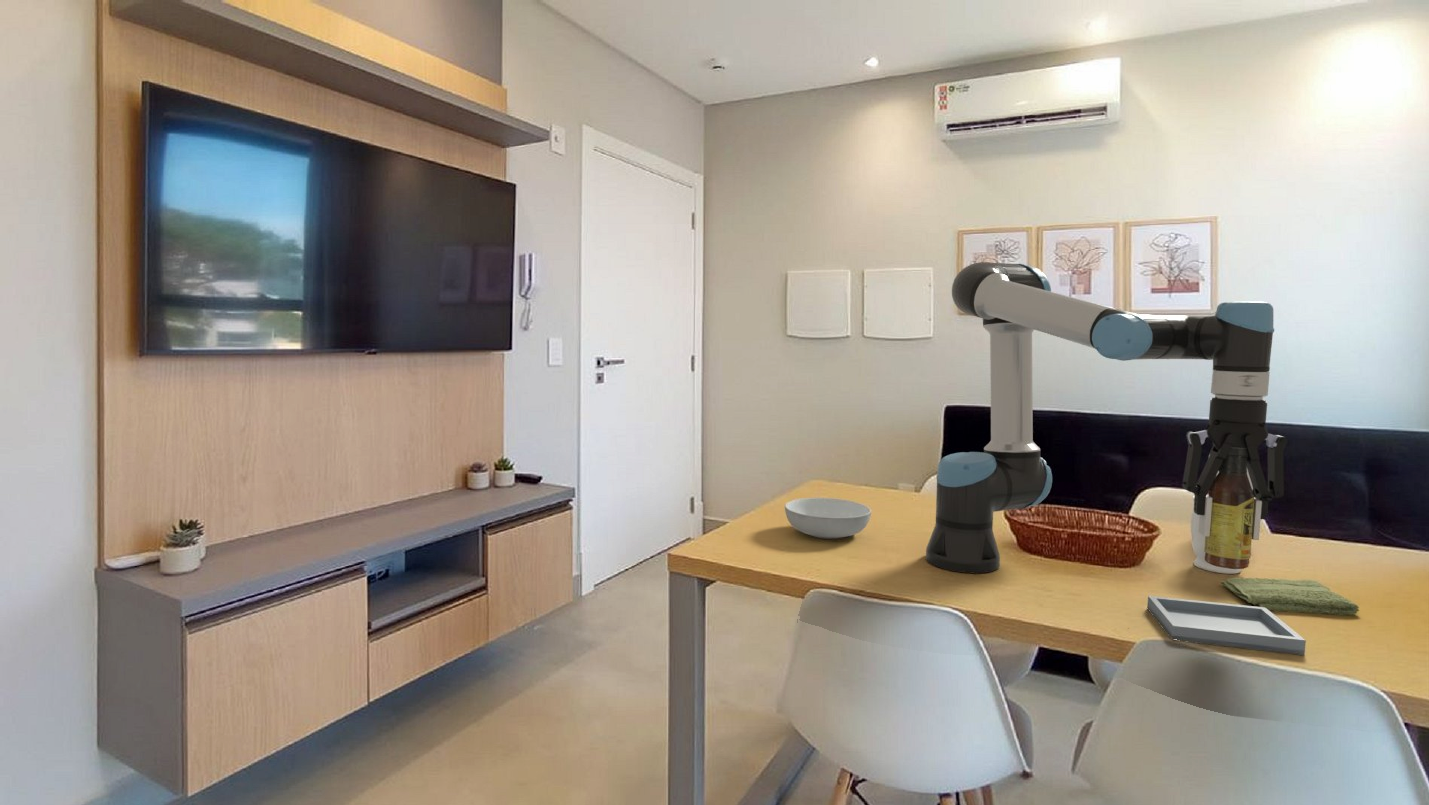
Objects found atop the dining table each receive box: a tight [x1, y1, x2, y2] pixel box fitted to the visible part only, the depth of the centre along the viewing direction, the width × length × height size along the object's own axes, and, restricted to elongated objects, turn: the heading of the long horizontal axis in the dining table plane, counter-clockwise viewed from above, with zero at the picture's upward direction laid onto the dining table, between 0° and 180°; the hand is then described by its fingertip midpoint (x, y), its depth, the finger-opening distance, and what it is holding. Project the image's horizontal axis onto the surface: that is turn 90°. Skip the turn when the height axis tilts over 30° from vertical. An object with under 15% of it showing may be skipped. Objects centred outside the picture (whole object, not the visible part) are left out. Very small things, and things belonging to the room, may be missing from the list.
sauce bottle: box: [1204, 447, 1256, 570], centre depth 118 cm, size 6×6×20 cm
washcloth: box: [1220, 577, 1360, 616], centre depth 134 cm, size 13×18×3 cm
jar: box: [1190, 494, 1242, 575], centre depth 152 cm, size 11×10×15 cm
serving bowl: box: [784, 497, 872, 540], centre depth 176 cm, size 21×21×7 cm
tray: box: [1146, 595, 1307, 656], centre depth 120 cm, size 18×14×2 cm
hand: (1228, 535), depth 119 cm, fingers closed on sauce bottle, 6 cm apart
